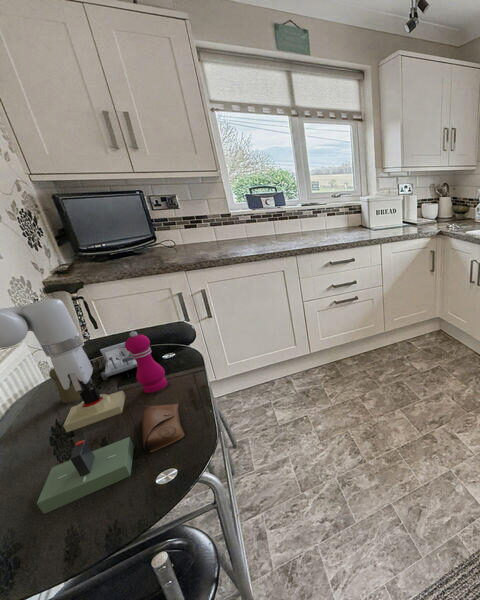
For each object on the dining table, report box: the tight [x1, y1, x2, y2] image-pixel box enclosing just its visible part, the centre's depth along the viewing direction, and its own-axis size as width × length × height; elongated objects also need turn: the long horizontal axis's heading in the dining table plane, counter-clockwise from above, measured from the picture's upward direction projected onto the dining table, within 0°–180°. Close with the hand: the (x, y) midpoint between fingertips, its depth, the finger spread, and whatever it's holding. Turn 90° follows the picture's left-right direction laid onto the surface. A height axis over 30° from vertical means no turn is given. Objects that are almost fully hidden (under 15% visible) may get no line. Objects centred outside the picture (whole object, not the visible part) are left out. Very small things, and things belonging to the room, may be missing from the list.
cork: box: [48, 367, 82, 404], centre depth 102 cm, size 6×6×11 cm
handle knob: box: [69, 439, 95, 476], centre depth 71 cm, size 6×2×5 cm, turn 34°
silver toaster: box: [99, 341, 138, 381], centre depth 117 cm, size 18×10×12 cm
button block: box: [62, 390, 126, 433], centre depth 94 cm, size 12×10×4 cm
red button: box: [83, 397, 102, 407], centre depth 94 cm, size 4×4×2 cm
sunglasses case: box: [141, 403, 185, 453], centre depth 86 cm, size 18×7×7 cm
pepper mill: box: [125, 330, 168, 394], centre depth 102 cm, size 7×7×20 cm
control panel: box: [36, 436, 135, 515], centre depth 72 cm, size 14×11×3 cm
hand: (93, 400), depth 94 cm, fingers closed
